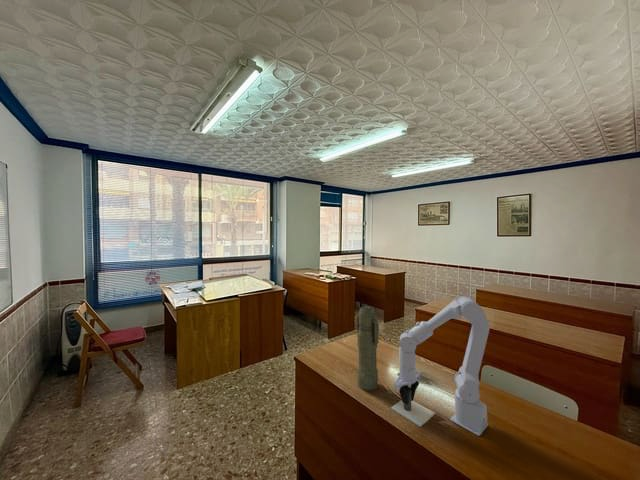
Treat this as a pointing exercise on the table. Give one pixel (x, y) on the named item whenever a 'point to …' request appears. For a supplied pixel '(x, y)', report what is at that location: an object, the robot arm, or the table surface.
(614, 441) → the table surface
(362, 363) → the thermos
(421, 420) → the notepad
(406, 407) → the cylinder
